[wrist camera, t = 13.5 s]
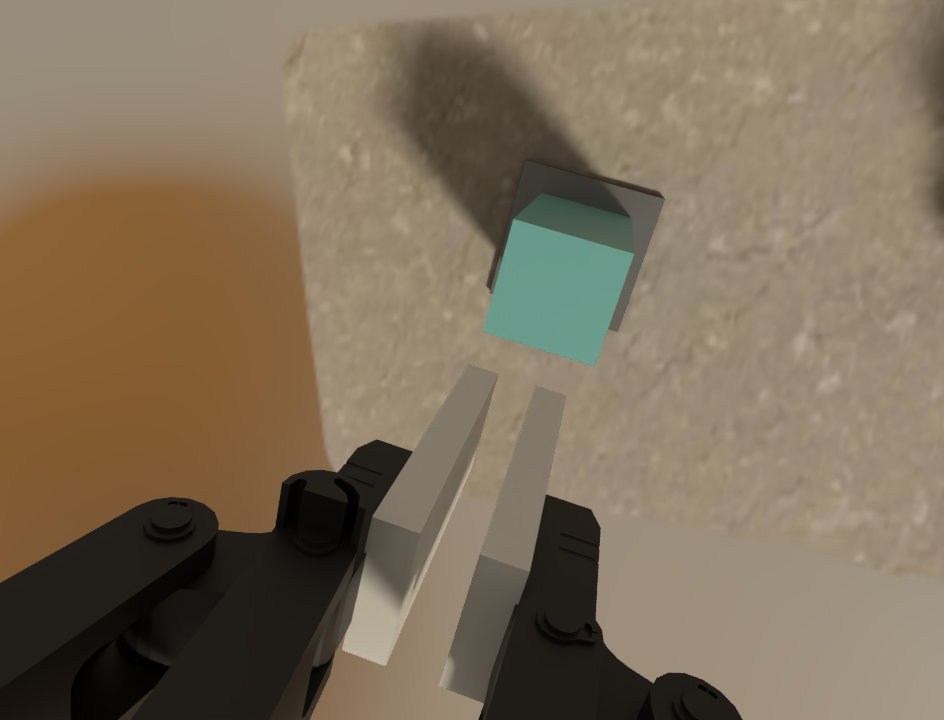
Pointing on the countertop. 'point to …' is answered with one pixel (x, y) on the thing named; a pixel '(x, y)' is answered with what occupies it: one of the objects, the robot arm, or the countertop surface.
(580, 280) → the tall teal pillar
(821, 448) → the countertop surface
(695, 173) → the countertop surface
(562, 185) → the grey square base plate
